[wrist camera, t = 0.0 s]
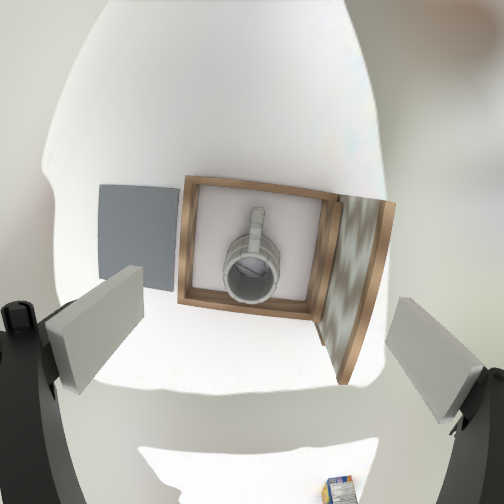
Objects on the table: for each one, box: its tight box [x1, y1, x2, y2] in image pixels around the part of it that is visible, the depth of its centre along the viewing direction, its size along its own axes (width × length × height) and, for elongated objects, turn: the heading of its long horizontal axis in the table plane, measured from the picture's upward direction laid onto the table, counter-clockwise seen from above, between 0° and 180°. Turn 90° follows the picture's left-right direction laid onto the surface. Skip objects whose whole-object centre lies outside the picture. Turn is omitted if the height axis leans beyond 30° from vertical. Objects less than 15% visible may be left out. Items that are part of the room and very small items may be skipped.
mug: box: [223, 208, 280, 304], centre depth 35 cm, size 8×12×12 cm, turn 174°
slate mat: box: [98, 185, 179, 292], centre depth 41 cm, size 16×14×1 cm
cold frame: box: [177, 176, 396, 385], centre depth 32 cm, size 19×21×19 cm
